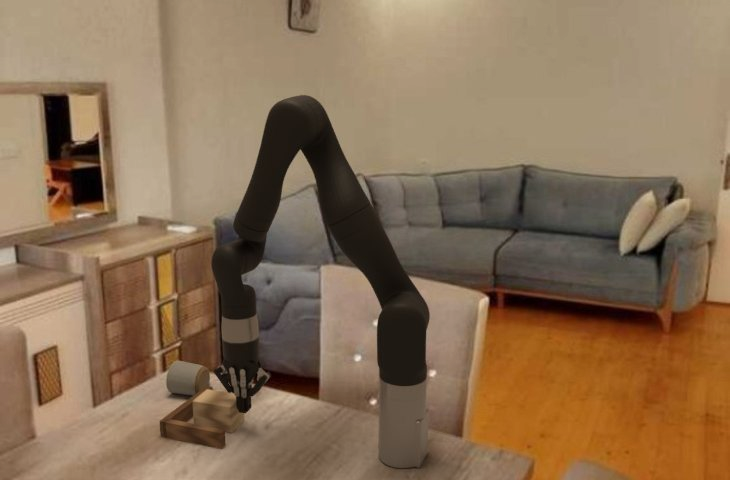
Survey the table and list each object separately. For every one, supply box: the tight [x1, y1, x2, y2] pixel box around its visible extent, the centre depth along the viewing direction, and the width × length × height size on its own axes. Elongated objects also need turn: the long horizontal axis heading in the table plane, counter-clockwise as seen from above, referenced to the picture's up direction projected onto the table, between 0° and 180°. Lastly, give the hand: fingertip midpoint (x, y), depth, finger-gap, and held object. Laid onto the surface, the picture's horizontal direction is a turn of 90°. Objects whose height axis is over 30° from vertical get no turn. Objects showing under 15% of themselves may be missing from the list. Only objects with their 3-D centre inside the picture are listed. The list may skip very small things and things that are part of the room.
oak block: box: [192, 389, 246, 434], centre depth 151 cm, size 9×6×6 cm, turn 72°
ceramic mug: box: [165, 360, 211, 397], centre depth 166 cm, size 11×8×8 cm
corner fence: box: [159, 385, 227, 450], centre depth 151 cm, size 15×18×4 cm
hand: (244, 411), depth 148 cm, fingers closed
